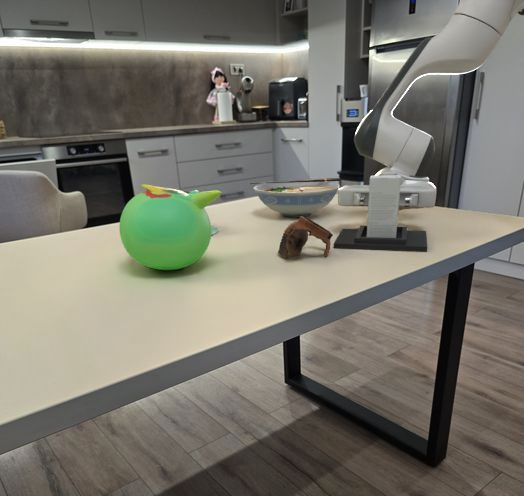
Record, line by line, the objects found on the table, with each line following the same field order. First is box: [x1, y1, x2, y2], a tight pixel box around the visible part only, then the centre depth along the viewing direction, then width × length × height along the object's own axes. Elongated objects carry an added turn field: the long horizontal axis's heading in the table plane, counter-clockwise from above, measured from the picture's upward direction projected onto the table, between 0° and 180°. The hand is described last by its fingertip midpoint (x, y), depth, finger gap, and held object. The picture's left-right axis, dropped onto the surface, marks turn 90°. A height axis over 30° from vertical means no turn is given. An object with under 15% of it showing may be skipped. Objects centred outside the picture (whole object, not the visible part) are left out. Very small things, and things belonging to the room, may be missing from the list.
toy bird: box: [119, 183, 222, 271], centre depth 85 cm, size 18×17×15 cm
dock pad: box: [333, 224, 428, 253], centre depth 100 cm, size 18×14×2 cm
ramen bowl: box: [249, 177, 342, 218], centre depth 128 cm, size 25×23×8 cm
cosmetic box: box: [366, 174, 401, 238], centre depth 98 cm, size 6×4×12 cm
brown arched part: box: [277, 216, 334, 260], centre depth 91 cm, size 12×10×8 cm
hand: (384, 202), depth 96 cm, fingers open, 8 cm apart
